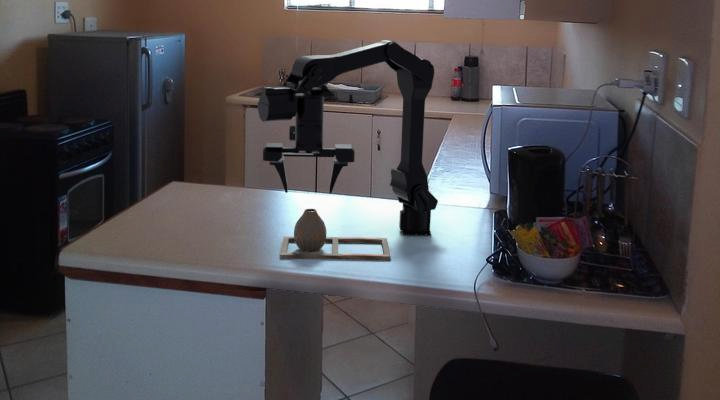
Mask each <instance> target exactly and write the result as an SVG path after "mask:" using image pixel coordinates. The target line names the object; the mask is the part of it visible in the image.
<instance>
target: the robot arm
mask: <svg viewBox="0 0 720 400" xmlns="http://www.w3.org/2000/svg"><path fill="white" fill-rule="evenodd" d="M381 63H385V64H386V65H387V66H388V67H389V68H390V69H391V70H393V71H394V72H395V73H396V81H397V82H396V83H397V86H398V89H399V91H400V93H401V96H402V119H401V120H402V123H401V142H400V144H401V146H400V148H401V149H400V162H399V164H398V166H397V167H396V168H391V170H390V176H391V178H390V183H389V186H391V188H392V192H393V194H394V195H395V196H396V197H397V199H398V200H397V201H398V203H400V204H402V209H401V210H400V211H399V222H398V224H399V226H398V227H399V230H400V231H401V234H402V235H403V236H432V232H431V219H432V217H431V216H432V211H434V210H436V208H437V205H438V203H439V200H438V199H437V198H436V197H435V196H434V195H433V193H432V192H431V191H430V188H429V179H428V175H427V172H426V169H425V167H424V163H423V153H424V148H423V147H424V136H425V135H424V133H425V132H424V130H425V111H426V99H427V97H428V96H429V93H430V92H431V90H432V87H433V82H434V78H435V66H434V64H432V63H431V61H430V60H428V59H424V58H420V57H419V56H417V55H416V54H414V53H412V52H410V51H409V50H407V49H405V48H404V47H402V46H401V45H399V43H397V42H396V41H393V40H385V39H384V40H383V39H382V40H380V41H378V42H375V43H372V44H369V45H365V46H361V47H357V48H353V49H349V50H346V51H342V52H338V53H334V54H324V55H323V54H321V55H319V54H317V55H316V54H314V55H302V56H299V57H297V58H296V59H295V60H294V62H293V64H292V69H291V72H290V73H289V75H288V76H287V77H286V79H285V81H284V82H283V83H282V85H281V87H280V86H279V87H270V86H263V87H262V88H261V90H262V91H261V94H260V95H259V98H258V102H257V111H258V117H259V119H260V120H261V121H262V122H263V123H266V122H267V123H269V122H282V121H284V122H286V121H291V120H293V118H294V117H295V118H294V119H295V120H294V121H295V122H294V123H295V125H289V128H288V129H289V134H288V136H289V138H288V141H289V142H295V145H294V147H286V146H284V142H266V143H265V144H264V146H263V149H262V161H264V162H268V163H269V165H270V166H274V167H275V170H276V171H277V173H278V174H277V175H279V178H280V180H281V181H280V182H281V183H282V186H283V190H284V192H285V193H286V194H287V193H288V190H289V189H288V185H289V184H288V175H287V168H286V157H290V158H292V157H296V158H299V157H301V158H302V157H303V158H304V157H305V158H333V160H332V167H331V173H330V180H329V189H328V190H329V194H332V193H333V190H334V187H335V185H336V183H337V179H338V177H339V175H340V174H341V171H342V169H343V168H344V167H348V166H349V163H354V162H355V148H354V145H352V144H351V143H349V144H348V143H334V144H335V145H334V147H331V148H330V147H329V148H328V147H327V148H326V147H324V101H325V99H324V98H333V97H334V93H333V92H332V91H331V89H329V88H328V86H327V85H326V84H328V83H330V82H332V81H334V80H335V79H336V78H337V77H339V76H340V75H343V74H345V73H349V72H353V71H357V70H359V69H362V68H366V67H367V68H368V67H369V66H374V65H377V64H381Z"/></svg>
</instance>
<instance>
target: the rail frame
mask: <svg viewBox="0 0 720 400" xmlns="http://www.w3.org/2000/svg"><path fill="white" fill-rule="evenodd" d="M289 242H291V243H293V242H294V243H295V239H294V236H283V237H282V242H281V248H280V253H279V259H294V260H295V259H296V260H297V259H301V260H302V259H303V260H305V259H306V260H309V259H310V260H359V261H360V260H361V261H362V260H365V261H366V260H367V261H374V260H375V261H391V260H392V259H391V251H390V247H389V243H388V242H389V241H388V238H387V237H361V236H360V237H354V236H353V237H351V236H350V237H349V236H348V237H347V236H345V237H344V236H342V237H341V236H340V237H339V236H335V237H333V236H326V241H325V243H332V253H321V252H319V253H318V252H288V248H289ZM339 243H345V244H346V243H348V244H349V243H350V244H353V243H355V244H381V247H382V252H383V254H382V253H339Z"/></svg>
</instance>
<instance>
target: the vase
mask: <svg viewBox="0 0 720 400" xmlns="http://www.w3.org/2000/svg"><path fill="white" fill-rule="evenodd" d="M293 228H294V229H293V237H294V239H295V242H294V243H295V245H296V247H297V248H298V249H299V250H300V251H302V252H303V253H317V252H319V251H320V250H321V249H322V248H323V247H324V245H325V243H326V242H325V241H326V237H327V227H326V225H325V221H324V220H323V219H322V218H321V216H320V215H319V213H318V210H317V209H315V208H305V209H304V211H303V213H302V215H301V216H300V217H299V218H298V219H297V220H296V223H295V225H294V227H293Z"/></svg>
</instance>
